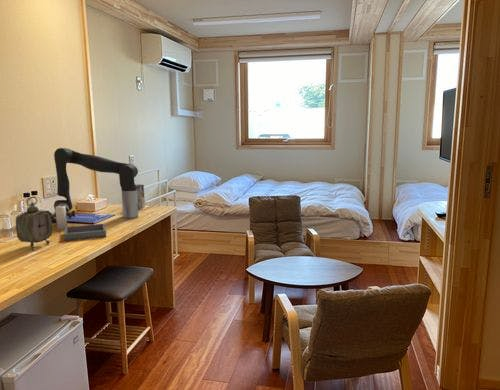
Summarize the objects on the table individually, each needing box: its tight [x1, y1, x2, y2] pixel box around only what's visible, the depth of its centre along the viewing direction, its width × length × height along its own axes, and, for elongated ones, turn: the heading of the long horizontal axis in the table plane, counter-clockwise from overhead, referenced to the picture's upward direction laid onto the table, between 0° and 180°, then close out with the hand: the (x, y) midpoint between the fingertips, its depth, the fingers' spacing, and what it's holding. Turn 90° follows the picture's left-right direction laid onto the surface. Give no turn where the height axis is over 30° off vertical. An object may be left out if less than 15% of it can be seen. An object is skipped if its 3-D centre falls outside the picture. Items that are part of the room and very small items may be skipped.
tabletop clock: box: [15, 196, 53, 252], centre depth 198 cm, size 14×9×25 cm, turn 168°
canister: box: [54, 206, 68, 231], centre depth 229 cm, size 5×5×13 cm
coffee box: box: [135, 184, 146, 211], centre depth 281 cm, size 9×6×16 cm
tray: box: [64, 223, 107, 242], centre depth 220 cm, size 20×15×4 cm
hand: (61, 217), depth 228 cm, fingers open, 8 cm apart
